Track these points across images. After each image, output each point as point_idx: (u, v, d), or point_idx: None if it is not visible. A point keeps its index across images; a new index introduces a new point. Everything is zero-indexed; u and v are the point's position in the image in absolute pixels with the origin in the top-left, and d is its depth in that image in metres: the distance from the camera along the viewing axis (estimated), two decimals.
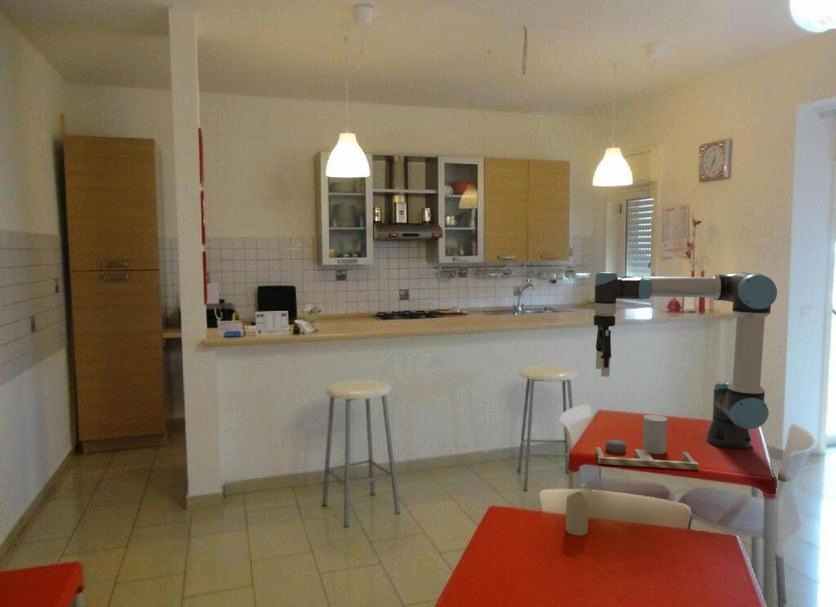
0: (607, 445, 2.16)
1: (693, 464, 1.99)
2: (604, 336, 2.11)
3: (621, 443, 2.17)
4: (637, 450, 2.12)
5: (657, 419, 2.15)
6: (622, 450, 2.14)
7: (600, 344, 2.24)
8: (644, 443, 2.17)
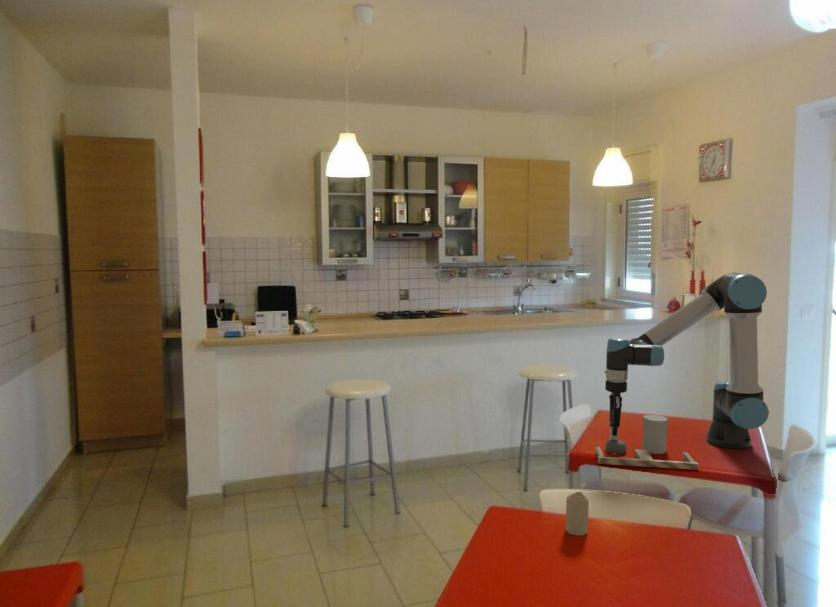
0: (607, 445, 2.16)
1: (693, 464, 1.99)
2: (615, 408, 2.15)
3: (622, 443, 2.16)
4: (637, 450, 2.12)
5: (657, 419, 2.15)
6: (623, 450, 2.14)
7: None
8: (644, 443, 2.17)
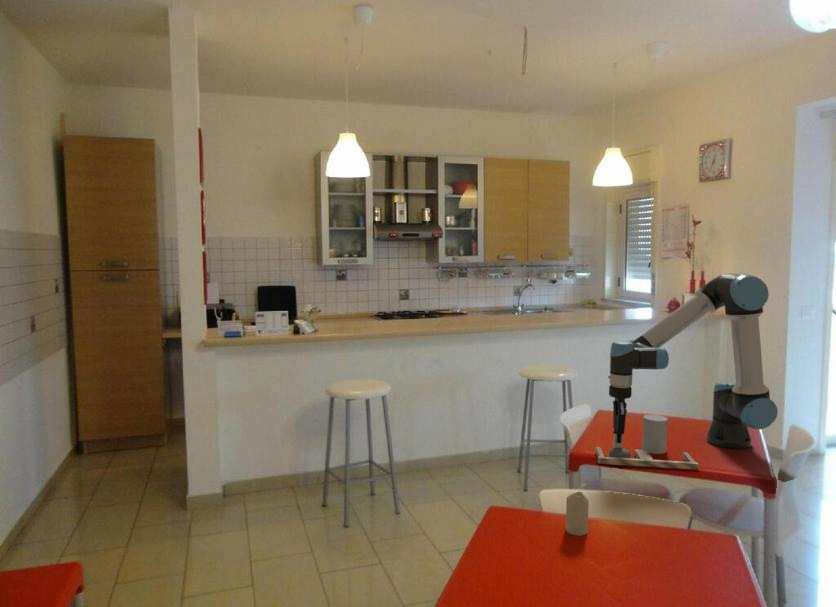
0: (611, 453, 2.08)
1: (693, 464, 1.99)
2: (619, 415, 2.07)
3: (626, 451, 2.08)
4: (637, 450, 2.12)
5: (657, 419, 2.15)
6: None
7: None
8: (644, 443, 2.17)
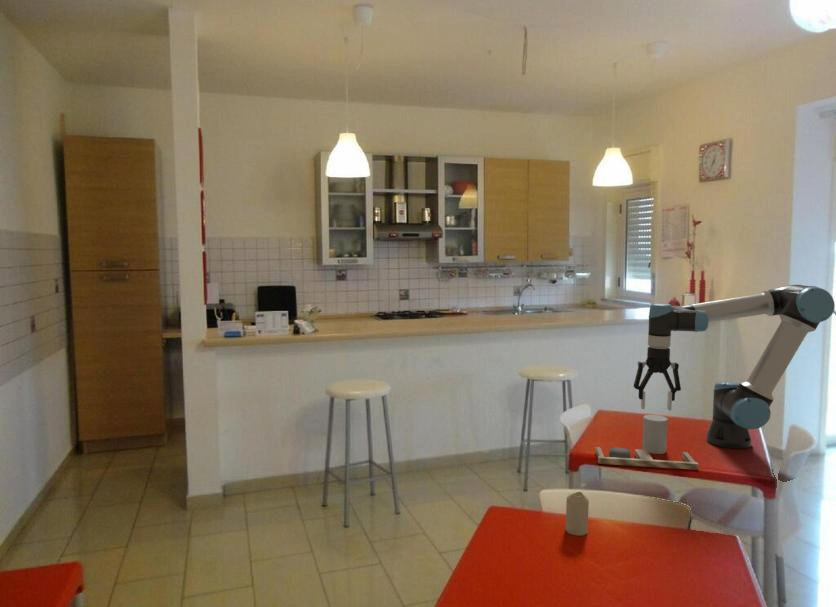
0: (611, 453, 2.08)
1: (693, 464, 1.99)
2: (638, 367, 2.17)
3: (626, 451, 2.08)
4: (637, 450, 2.12)
5: (657, 419, 2.15)
6: None
7: (667, 381, 2.16)
8: (644, 443, 2.17)
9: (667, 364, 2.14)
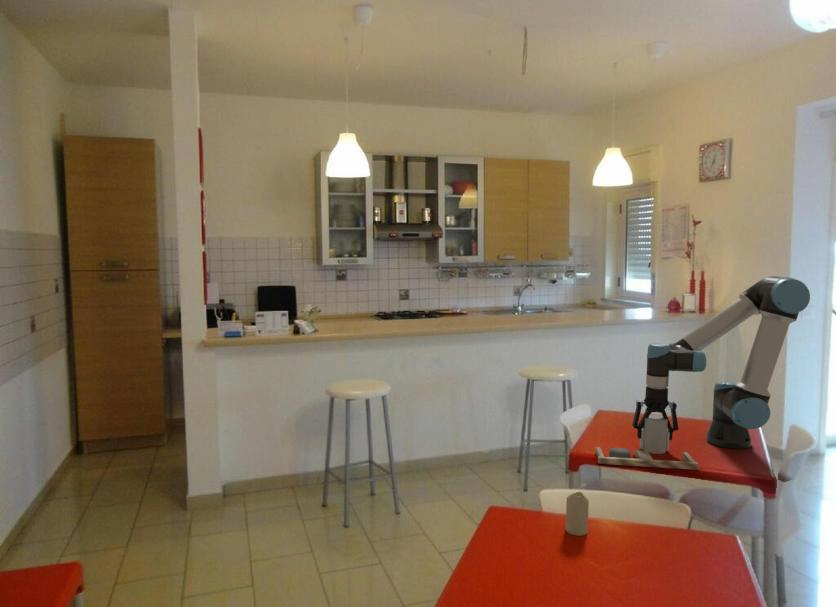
0: (611, 453, 2.08)
1: (693, 464, 1.99)
2: None
3: (626, 451, 2.08)
4: (637, 450, 2.12)
5: (657, 419, 2.15)
6: None
7: None
8: (644, 443, 2.17)
9: (665, 404, 2.15)
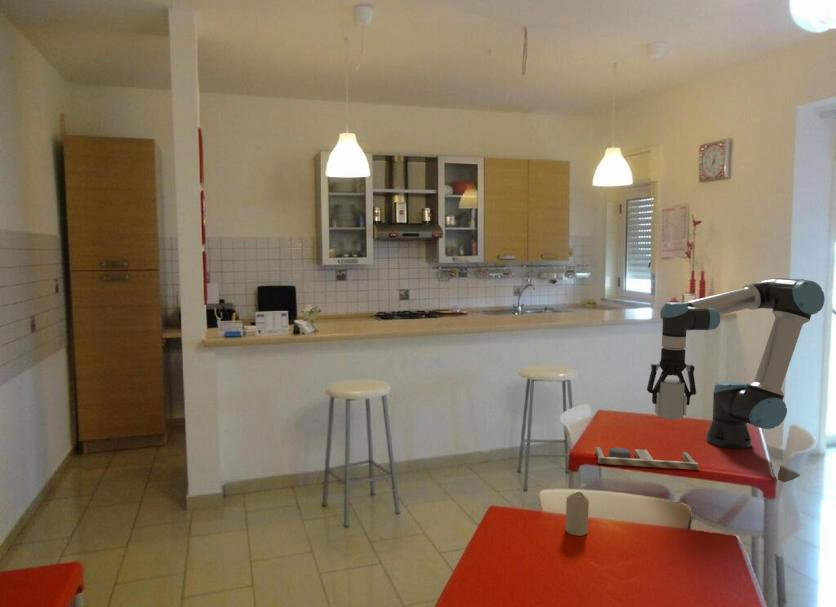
0: (611, 453, 2.08)
1: (693, 464, 1.99)
2: (651, 370, 2.06)
3: (626, 451, 2.08)
4: (637, 450, 2.12)
5: (673, 382, 2.02)
6: None
7: None
8: (659, 408, 2.04)
9: (682, 366, 2.02)
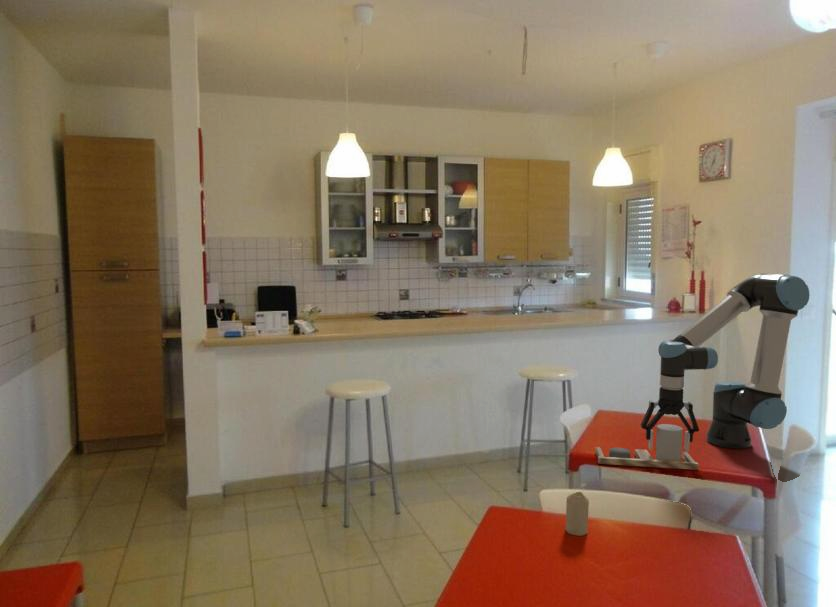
0: (611, 453, 2.08)
1: (693, 464, 1.99)
2: None
3: (626, 451, 2.08)
4: (637, 450, 2.12)
5: (671, 429, 2.04)
6: None
7: (683, 422, 2.05)
8: (658, 454, 2.06)
9: (680, 406, 2.03)
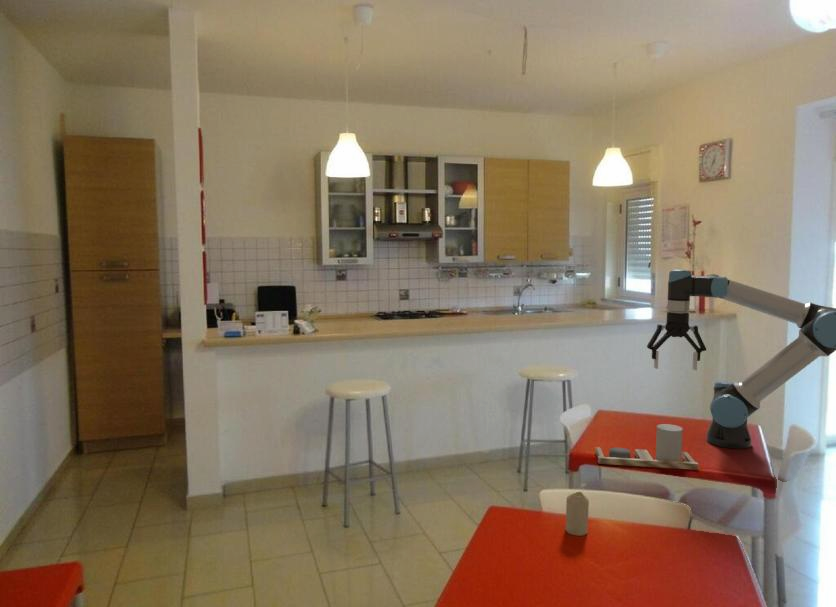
0: (611, 453, 2.08)
1: (693, 464, 1.99)
2: (656, 329, 2.23)
3: (626, 451, 2.08)
4: (637, 450, 2.12)
5: (671, 429, 2.04)
6: None
7: (690, 343, 2.21)
8: (658, 454, 2.06)
9: (686, 328, 2.19)
